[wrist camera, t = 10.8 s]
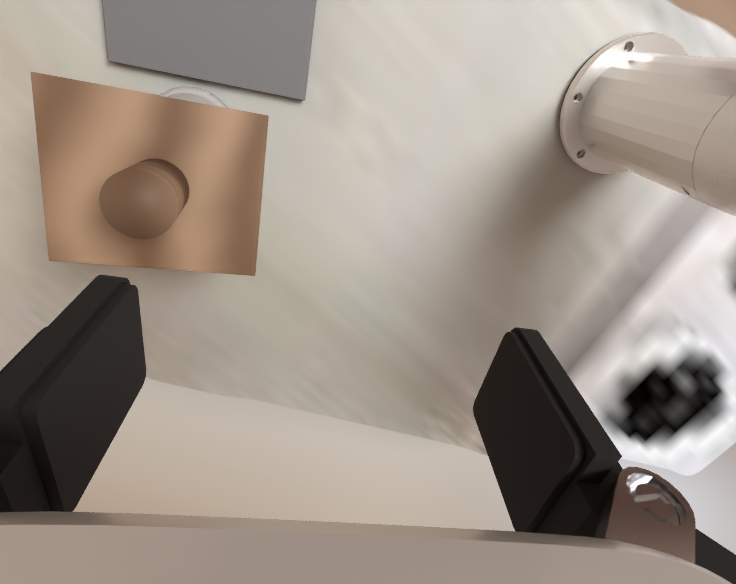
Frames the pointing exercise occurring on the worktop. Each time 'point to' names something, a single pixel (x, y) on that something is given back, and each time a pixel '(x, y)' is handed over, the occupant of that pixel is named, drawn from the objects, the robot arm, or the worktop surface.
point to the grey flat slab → (216, 40)
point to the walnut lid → (148, 178)
